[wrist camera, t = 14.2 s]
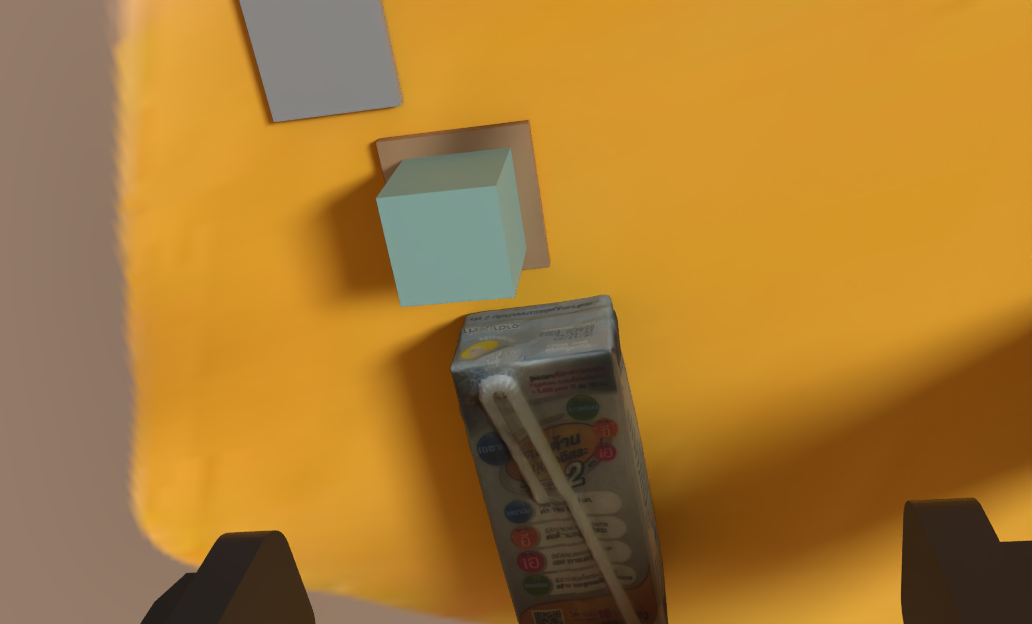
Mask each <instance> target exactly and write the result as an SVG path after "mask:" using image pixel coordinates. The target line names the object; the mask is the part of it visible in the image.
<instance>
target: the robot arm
mask: <svg viewBox="0 0 1032 624" xmlns="http://www.w3.org/2000/svg"><path fill="white" fill-rule="evenodd" d="M901 606H902V615H903V622H904V624H1032V541H1012V542H1000V541H999V539H998V537H997V535H996V533H995V531H994V529H993V527H992V525H991V523H990V522H989V520H988V518H987V516H986V514H985V512H984V510H983V508H982V506H981V505H980V503H979V502H978V501H977V500H976V499H975V498H955V499H935V500H915V501H907V502H906V504H905V507H904V516H903V546H902V577H901ZM141 624H315V617H314V613H313V609H312V606H311V604H310V601H309V598H308V596H307V593H306V590H305V587H304V585H303V582H302V579H301V577H300V574H299V571H298V568H297V566H296V563H295V560H294V558H293V555H292V552H291V549H290V547H289V544H288V542H287V539H286V538H285V536H284V535H283V534H282V533H281V532H279V531H276V530H274V531H254V532H234V533H225V534H223V535H221V536H220V537H219V538H218V539H217V541H216V542H215V543H214V545H213V547H212V548H211V550H210V551H209V553H208V555H207V556H206V558H205V560H204V561H203V563H202V564H201V566H200V568H199V569H198V571H197V573H186V574H185V575H184V576H183V577H182V578H181V579H179V580H178V581H177V582H176V583H175V584H174V585H173V586H172V587H171V588H170V589H169V590H167V591H166V592H165V593H164V594H163V595H162V596H161V597H160V598H158V599H157V600H156V601H155V602H154V604H153V605H152V607H151V608H150V610H149V611H148V613H147V614H146V616H145V617H144V619H143V620H142V622H141Z"/></svg>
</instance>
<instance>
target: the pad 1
mask: <svg viewBox="0 0 1032 624" xmlns="http://www.w3.org/2000/svg"><path fill="white" fill-rule="evenodd" d="M239 1H240V5H241V8H242V12H243V15H244V19H245V22H246V26H247V29H248V33H249V37H250V40H251V44H252V47H253V51H254V54H255V58H256V61H257V65H258V68H259V72H260V75H261V79H262V82H263V86H264V89H265V93H266V96H267V100H268V103H269V107H270V111H271V114H272V118H273V121H274V122H280V121H287V120H295V119H303V118H311V117H318V116H326V115H334V114H341V113H349V112H357V111H364V110H372V109H380V108H388V107H395V106H401V105H402V103H403V98H402V93H401V88H400V84H399V79H398V74H397V70H396V65H395V60H394V55H393V51H392V46H391V41H390V37H389V32H388V27H387V23H386V18H385V13H384V9H383V4H382V0H239Z"/></svg>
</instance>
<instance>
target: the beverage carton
mask: <svg viewBox="0 0 1032 624" xmlns="http://www.w3.org/2000/svg"><path fill="white" fill-rule="evenodd" d="M450 372H451V374H452V377H453V381H454V384H455V388H456V392H457V397H458V402H459V409H460V413H461V416H462V418H463V421H464V424H465V428H466V433H467V437H468V441H469V445H470V449H471V452H472V456H473V459H474V462H475V466H476V470H477V474H478V478H479V482H480V485H481V489H482V492H483V498H484V501H485V504H486V507H487V511H488V515H489V519H490V523H491V527H492V530H493V534H494V538H495V541H496V545H497V549H498V552H499V556H500V560H501V563H502V567H503V570H504V574H505V578H506V581H507V584H508V588H509V591H510V595H511V598H512V602H513V605H514V609H515V612H516V616H517V619H518V622H519V624H668V617H667V603H666V593H665V581H664V573H663V563H662V557H661V551H660V544H659V536H658V531H657V525H656V520H655V515H654V510H653V503H652V498H651V493H650V486H649V481H648V476H647V470H646V464H645V459H644V453H643V447H642V442H641V437H640V432H639V428H638V423H637V418H636V413H635V409H634V404H633V400H632V395H631V391H630V387H629V382H628V377H627V373H626V368H625V364H624V360H623V356H622V352H621V348H620V340H619V330H618V320H617V316H616V313H615V311H614V309H613V306H612V302H611V299H610V297H609V296H608V295H598V296H594V297H589V298H582V299H575V300H570V301H564V302H557V303H548V304H541V305H533V306H526V307H517V308H509V309H503V310H492V311H485V312H479V313H474V314H469V315H467V316H466V318H465V320H464V326H463V327H462V329H461V331H460V337H459V340H458V345H457V349H456V351H455V354H454V358H453V361H452V364H451V366H450Z"/></svg>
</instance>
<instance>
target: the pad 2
mask: <svg viewBox="0 0 1032 624" xmlns="http://www.w3.org/2000/svg"><path fill="white" fill-rule="evenodd" d="M376 146H377V150H378V154H379V158H380V163H381V167H382V171H383V176H384V180H385V184H386V183H387V182H388V180H389V179H390V177H391V176H392V175H393V173H394V172H395V170H396V169H397V167H398V166H399V165H400V163H401V162H402V160H404V159H413V158H422V157H431V156H439V155H448V154H457V153H466V152H475V151H484V150H492V149H501V148H510V147H511V154H512V160H513V166H514V173H515V179H516V186H517V192H518V199H519V205H520V211H521V218H522V224H523V231H524V237H525V244H526V253H525V257H524V261H523V266H522V270H526V269H536V268H547V267H549V266H550V257H549V251H548V244H547V237H546V231H545V224H544V217H543V211H542V204H541V197H540V191H539V184H538V177H537V171H536V164H535V157H534V151H533V144H532V137H531V131H530V124H529V120H525V121H517V122H509V123H501V124H493V125H485V126H477V127H469V128H461V129H453V130H445V131H437V132H428V133H420V134H412V135H404V136H396V137H388V138H380V139H378V140H377V142H376Z"/></svg>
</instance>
